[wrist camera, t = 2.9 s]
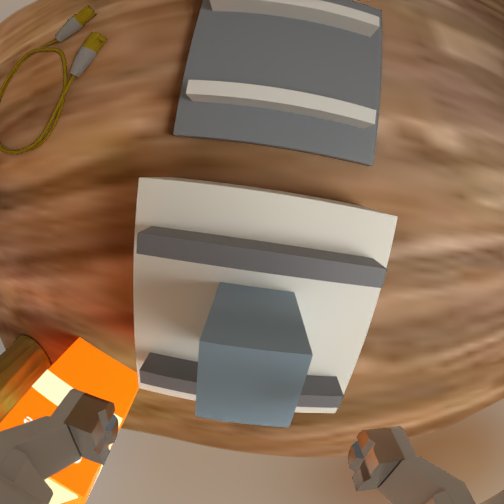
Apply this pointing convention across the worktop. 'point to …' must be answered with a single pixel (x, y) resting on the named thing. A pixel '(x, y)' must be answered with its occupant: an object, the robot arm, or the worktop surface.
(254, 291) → the plug
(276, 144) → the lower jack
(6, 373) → the vase
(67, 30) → the coiled cable
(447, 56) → the worktop surface
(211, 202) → the block
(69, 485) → the orange juice
